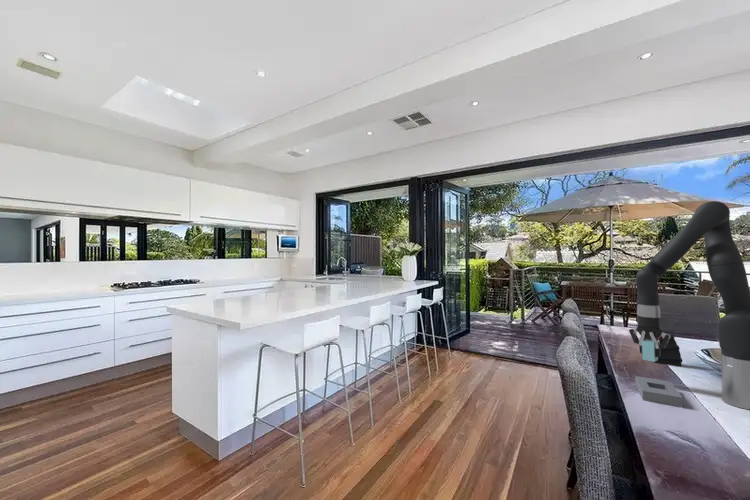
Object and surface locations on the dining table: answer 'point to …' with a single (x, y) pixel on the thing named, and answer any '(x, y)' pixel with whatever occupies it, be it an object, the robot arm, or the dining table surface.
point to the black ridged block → (670, 353)
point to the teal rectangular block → (648, 350)
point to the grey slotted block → (658, 391)
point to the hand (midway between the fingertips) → (650, 355)
